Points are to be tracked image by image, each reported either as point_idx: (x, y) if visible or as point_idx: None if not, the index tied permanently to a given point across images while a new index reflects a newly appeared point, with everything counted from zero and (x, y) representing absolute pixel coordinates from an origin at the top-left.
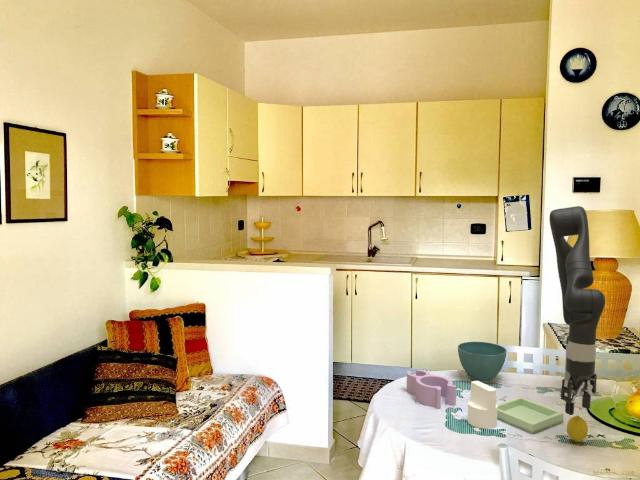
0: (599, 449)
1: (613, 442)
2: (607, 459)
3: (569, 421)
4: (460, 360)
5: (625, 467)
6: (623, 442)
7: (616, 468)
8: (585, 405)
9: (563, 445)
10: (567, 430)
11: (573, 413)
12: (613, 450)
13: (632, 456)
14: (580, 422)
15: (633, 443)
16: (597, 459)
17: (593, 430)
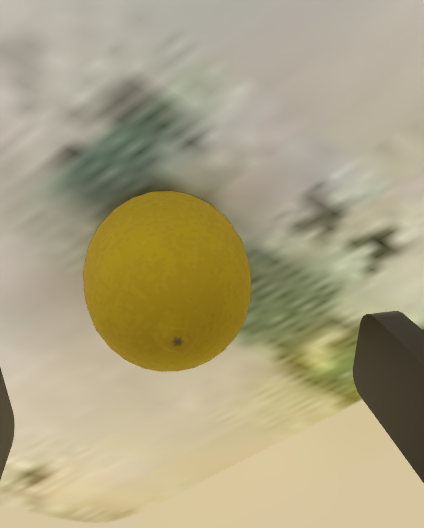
0: None
1: (342, 330)
2: (127, 424)
3: (105, 267)
4: None
5: (131, 489)
6: None
7: (83, 483)
8: (375, 369)
9: (32, 223)
10: (99, 226)
11: (2, 450)
12: (249, 381)
13: (263, 443)
14: (140, 365)
15: None
16: (77, 409)
17: (419, 183)
